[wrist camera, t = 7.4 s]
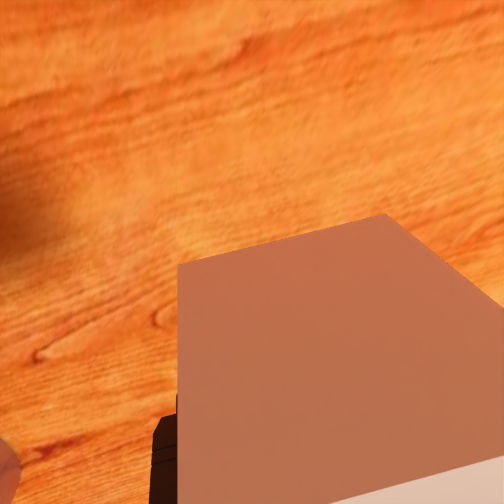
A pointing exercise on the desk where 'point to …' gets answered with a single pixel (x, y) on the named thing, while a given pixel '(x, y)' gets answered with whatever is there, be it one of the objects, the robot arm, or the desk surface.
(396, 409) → the upright white pillar block
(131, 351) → the desk surface
